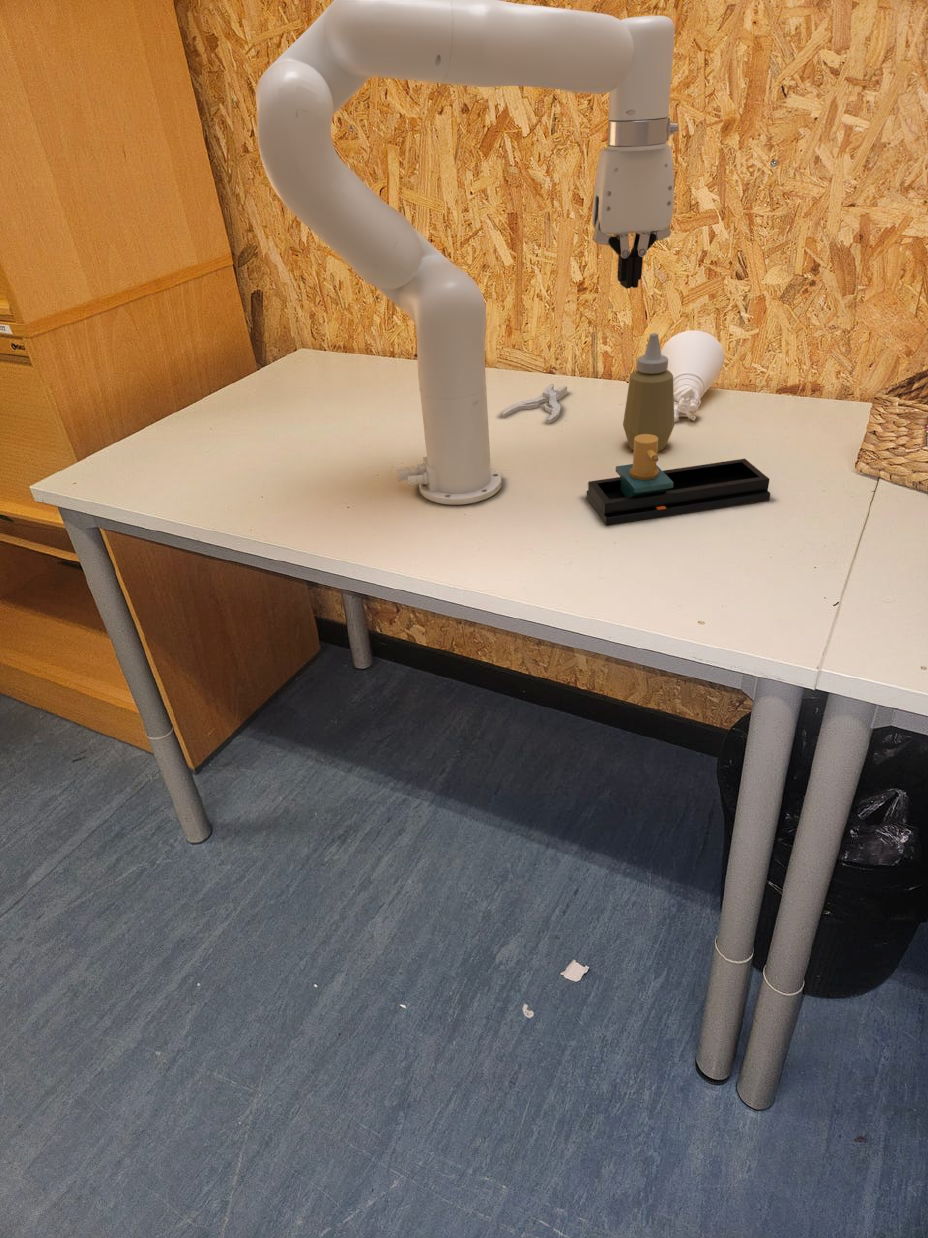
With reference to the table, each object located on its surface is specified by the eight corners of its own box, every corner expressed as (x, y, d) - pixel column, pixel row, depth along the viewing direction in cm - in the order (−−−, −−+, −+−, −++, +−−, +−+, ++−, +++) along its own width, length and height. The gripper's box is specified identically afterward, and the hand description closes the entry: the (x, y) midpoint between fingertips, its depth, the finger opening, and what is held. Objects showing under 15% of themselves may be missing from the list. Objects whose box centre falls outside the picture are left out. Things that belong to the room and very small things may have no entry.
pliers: (500, 408, 148) (535, 381, 158) (501, 417, 148) (535, 389, 159) (550, 415, 143) (583, 387, 154) (550, 423, 144) (583, 395, 155)
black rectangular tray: (606, 525, 112) (606, 506, 111) (586, 497, 120) (586, 479, 118) (769, 500, 115) (772, 481, 114) (740, 474, 123) (742, 456, 121)
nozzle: (633, 510, 112) (637, 452, 108) (614, 486, 119) (617, 430, 114) (672, 504, 113) (677, 446, 108) (651, 481, 120) (655, 425, 115)
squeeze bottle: (672, 457, 129) (682, 341, 119) (620, 456, 131) (625, 342, 121) (672, 437, 136) (681, 326, 126) (623, 436, 137) (627, 327, 127)
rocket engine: (689, 371, 133) (698, 317, 144) (634, 410, 141) (646, 355, 152) (732, 420, 137) (737, 363, 148) (676, 454, 145) (685, 398, 156)
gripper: (682, 129, 109) (670, 275, 119) (572, 137, 107) (570, 285, 118) (704, 132, 102) (689, 286, 113) (588, 141, 101) (584, 297, 111)
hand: (628, 285), depth 115 cm, fingers closed
